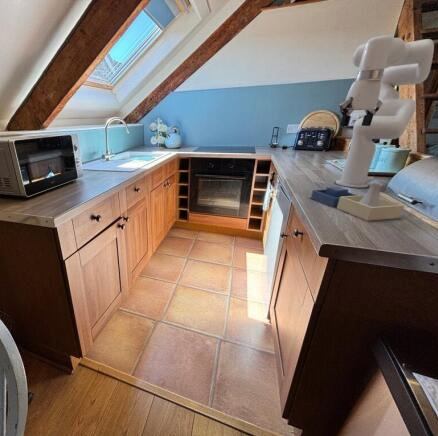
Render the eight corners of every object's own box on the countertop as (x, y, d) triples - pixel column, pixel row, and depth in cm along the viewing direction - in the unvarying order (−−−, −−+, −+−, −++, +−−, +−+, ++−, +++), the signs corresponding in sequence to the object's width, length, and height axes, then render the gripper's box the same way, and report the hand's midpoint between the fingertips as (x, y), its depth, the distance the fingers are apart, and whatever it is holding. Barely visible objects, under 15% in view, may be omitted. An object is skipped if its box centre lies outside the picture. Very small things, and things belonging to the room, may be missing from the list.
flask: (370, 207, 90) (379, 181, 86) (385, 215, 83) (396, 186, 79) (349, 207, 90) (357, 181, 87) (363, 214, 84) (372, 186, 80)
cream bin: (365, 206, 93) (369, 194, 91) (399, 218, 82) (404, 205, 80) (336, 208, 92) (340, 196, 90) (367, 220, 81) (372, 207, 79)
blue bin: (334, 196, 104) (336, 188, 103) (358, 205, 94) (361, 196, 93) (310, 198, 103) (312, 190, 102) (332, 207, 93) (335, 198, 92)
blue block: (334, 198, 101) (337, 186, 99) (344, 201, 96) (348, 189, 94) (323, 198, 100) (326, 187, 98) (333, 202, 96) (337, 190, 94)
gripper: (379, 78, 95) (365, 125, 101) (339, 78, 93) (327, 126, 100) (400, 75, 88) (383, 125, 94) (357, 75, 86) (343, 127, 93)
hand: (354, 126), depth 97 cm, fingers open, 9 cm apart
